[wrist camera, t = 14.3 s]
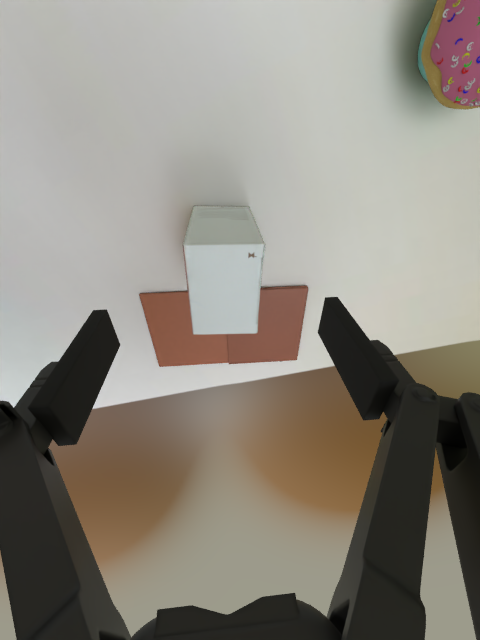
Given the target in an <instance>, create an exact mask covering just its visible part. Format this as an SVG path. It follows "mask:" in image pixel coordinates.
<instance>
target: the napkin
mask: <svg viewBox="0 0 480 640" xmlns="http://www.w3.org/2000/svg"><path fill="white" fill-rule="evenodd" d="M307 293H308V287H307V286H289V287H268V288H260V300H259V312H258V332H257V333H255V334H193V333H192V324H191V315H190V306H189V297H188V291H182V292H161V293H140V294H139V296H140V299H141V303H142V306H143V310H144V313H145V317H146V320H147V324H148V328H149V331H150V335H151V338H152V342H153V345H154V349H155V352H156V356H157V360H158V363H159V367H163V366H180V365H197V364H213V363H229V364H238V363H255V362H271V361H288V360H297V356H298V350H299V343H300V337H301V331H302V325H303V318H304V312H305V306H306V299H307Z"/></svg>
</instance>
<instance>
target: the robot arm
mask: <svg viewBox="0 0 480 640" xmlns="http://www.w3.org/2000/svg"><path fill="white" fill-rule="evenodd" d="M318 334H319V336H320V338H321V339H322V341H323V343H324V345H325V347H326V349H327V351H328V353H329V355H330V357H331V359H332V361H333V363H334V365H335V366H336V368H337V370H338V372H339V374H340V376H341V378H342V380H343V382H344V384H345V386H346V388H347V390H348V392H349V393H350V395H351V397H352V399H353V401H354V403H355V405H356V407H357V409H358V411H359V413H360V415H361V417H362V419H363V420H374V419H379V418H380V416H381V414H382V412H384V413H385V415H386V417H387V418H388V419H387V421H386V423H385V424H384V426H383V428H382V430H381V432H382V437H381V440H380V443H379V447H378V451H377V454H376V457H375V461H374V464H373V468H372V471H371V475H370V478H369V482H368V485H367V488H366V492H365V495H364V499H363V502H362V506H361V509H360V513H359V516H358V520H357V523H356V527H355V530H354V534H353V537H352V540H351V544H350V547H349V551H348V554H347V558H346V561H345V565H344V568H343V572H342V575H341V577H340V580H339V582H338V585H337V587H336V589H335V592H334V595H333V598H332V601H331V604H330V608H329V611H328V614H327V617H326V616H324V615H323V614H322V613H321V612H320V611H318V610H317V609H315V608H314V607H312V606H311V605H309V604H306V603H304V602H303V601H299V600H296V596H295V593H290V594H282V595H274V596H266V597H261V598H259V599H257V600H256V601H254V602H252V603H250V604H248V605H246V606H244V607H243V608H241V609H239V610H237V611H235V612H233V613H231V614H228V615H225V614H221V613H217V612H214V611H210V610H207V609H203V608H199V607H196V606H184V607H175V608H167V609H160V610H158V611H157V617H156V618H155V619H153V620H151V621H150V622H148V623H147V624H146V625H144V626H143V627H142V628H141V629H140V630H138V631H137V632H136V633H135V634H134V635H133V636H132V637H131V636H130V634H129V631H128V629H127V627H126V625H125V623H124V620H123V619H122V617H121V615H120V613H119V612H118V610H117V609H116V607H115V606H114V604H113V602H112V600H111V598H110V595H109V593H108V590H107V588H106V585H105V583H104V581H103V578H102V575H101V573H100V570H99V568H98V565H97V563H96V561H95V558H94V555H93V553H92V551H91V548H90V546H89V543H88V541H87V538H86V536H85V533H84V531H83V528H82V526H81V523H80V521H79V519H78V516H77V513H76V511H75V508H74V506H73V504H72V501H71V499H70V496H69V494H68V491H67V489H66V486H65V484H64V481H63V479H62V476H61V474H60V471H59V469H58V467H57V464H56V462H55V459H54V457H53V454H52V452H51V450H50V449H49V448H48V447H49V445H50V443H51V441H52V439H53V440H54V441H55V442H56V443H57V445H58V446H63V445H74V444H77V442H78V440H79V437H80V435H81V433H82V431H83V428H84V426H85V424H86V421H87V419H88V417H89V415H90V412H91V410H92V408H93V406H94V403H95V401H96V399H97V397H98V394H99V392H100V390H101V387H102V385H103V383H104V381H105V378H106V376H107V374H108V372H109V369H110V367H111V365H112V362H113V360H114V358H115V356H116V353H117V351H118V349H119V347H120V343H119V340H118V338H117V335H116V332H115V330H114V327H113V325H112V322H111V319H110V317H109V314H108V312H107V310H93V312H92V313H91V315H90V316H89V318H88V319H87V321H86V322H85V323H84V325H83V326H82V328H81V329H80V331H79V332H78V334H77V335H76V337H75V338H74V340H73V341H72V343H71V344H70V346H69V347H68V349H67V350H66V352H65V353H64V355H63V356H62V357H61V359H60V360H59V362H51V363H50V364H48V365H47V366H46V367H45V368H43V369H42V370H41V371H40V373H39V374H38V376H37V377H36V378H35V381H33V382H32V384H31V385H30V388H28V389H27V391H26V392H25V393H24V395H23V396H22V398H21V399H20V400H19V402H18V403H17V404H16V406H15V407H14V408H13V407H12V405H11V404H10V403H9V402H7V401H0V550H1V556H2V562H3V567H4V573H5V578H6V584H7V589H8V594H9V600H10V605H11V611H12V616H13V621H14V627H15V633H16V637H17V640H425V639H424V638H425V629H426V614H425V607H424V605H423V603H422V601H421V598H420V585H421V575H422V566H423V558H424V549H425V540H426V530H427V521H428V512H429V503H430V494H431V485H432V476H433V466H434V457H435V448H436V450H437V455H438V459H439V464H440V469H441V473H442V478H443V483H444V488H445V492H446V497H447V501H448V507H449V511H450V516H451V521H452V526H453V530H454V535H455V540H456V545H457V549H458V554H459V559H460V564H461V568H462V573H463V578H464V582H465V587H466V592H467V596H468V601H469V606H470V611H471V616H472V620H473V625H474V630H475V634H476V639H477V640H480V395H479V394H476V393H463V394H462V395H461V397H460V398H459V399H453V398H449V397H443V396H438V395H437V394H436V392H434V391H433V390H432V389H431V388H429V387H427V386H425V385H422V384H419V383H416V382H415V380H414V379H413V378H412V377H411V376H410V374H409V373H408V372H407V371H406V369H405V368H404V367H403V366H402V364H401V363H400V362H399V361H398V359H397V358H396V357H395V356H394V355H393V353H392V352H391V351H390V349H389V348H388V347H387V346H386V345H384V344H383V343H381V342H380V341H379V340H371V341H370V340H369V339H368V337H367V336H366V335H365V333H364V332H363V331H362V329H361V328H360V327H359V325H358V324H357V323H356V321H355V320H354V319H353V317H352V316H351V315H350V313H349V312H348V311H347V309H346V308H345V307H344V305H343V304H342V303H341V301H340V300H339V299H338V297H328V298H325V301H324V306H323V311H322V315H321V320H320V325H319V330H318Z"/></svg>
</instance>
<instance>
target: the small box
mask: <svg viewBox="0 0 480 640" xmlns="http://www.w3.org/2000/svg"><path fill="white" fill-rule="evenodd" d="M264 250H265V243H264V241H263V238H262V236H261V234H260V231H259V229H258V226H257V224H256V221H255V219H254V217H253V215H252V212H251V210H250V208H249V207H238V206H194V207H193V210H192V214H191V217H190V221H189V225H188V228H187V232H186V236H185V239H184V243H183V252H184V261H185V270H186V279H187V288H188V297H189V306H190V315H191V324H192V333H193V334H255V333H257V332H258V312H259V300H260V287H261V275H262V265H263V258H264Z"/></svg>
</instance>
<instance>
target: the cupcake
mask: <svg viewBox="0 0 480 640" xmlns="http://www.w3.org/2000/svg"><path fill="white" fill-rule="evenodd" d="M418 66H419V70H420V73H421V75H422V77H423V78H424V79H425V80H426V81H427V82H428V83H429V85H430V88H431V90H432V93H433V94H434V96H435V98H436V99H437V100H438V101H439V102H440V103H441V104H442V105H444V106H446V107H449V108H454V109H472V108H478V107H480V0H437V2H436V5H435V8H434V11H433V15H432V17H431V19H430V21H429V22H428V24H427V26H426V28H425V30H424V32H423V35H422V38H421V41H420V45H419V50H418Z"/></svg>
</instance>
